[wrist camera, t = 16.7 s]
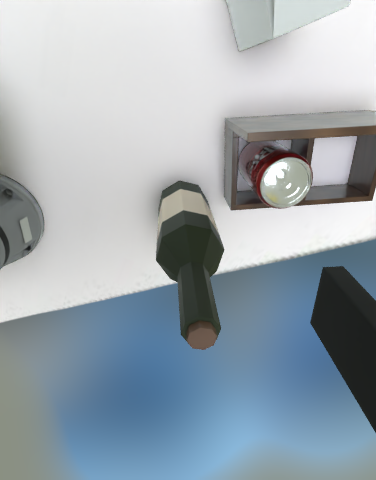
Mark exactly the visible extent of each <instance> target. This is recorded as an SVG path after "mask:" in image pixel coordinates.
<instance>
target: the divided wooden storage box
mask: <svg viewBox="0 0 376 480" xmlns="http://www.w3.org/2000/svg"><path fill="white" fill-rule="evenodd" d="M343 136H358V138H357V143H356V147H355V152H354V157H353V161H352V166H351V171H350V175H349V180H348V184H344V185H329V186H314V187H310V190H309V191H308V193H307V195H306V196H305V197H304V198H303V199H302V200H301V201H300V202H298V203H297V204H295V205H293V206H301V205H315V204H330V203H344V202H359V201H372V199H373V195H374V192H375V188H376V111H370V110H362V111H345V112H327V113H309V114H292V115H274V116H257V117H239V118H225V169H224V197H225V199H226V201H227V203H228V205H229V207H230V209H231V210H242V209H257V208H271V207H269V206H268V205H266V204H264V203H263V202H262V201H261V199H260V198H259V197H258V196H257V194H256V193H255V192H254V191H239V192H237V168H238V137H242V138H243V139H244V140H246V141H247V142H259V141H276V140H292V145H291V150H292V151H293V152H295V153H297V154H299V155H301V156H302V157H304V158H305V159H306V160H307V161H308V162H309V164H310V166H311V159H312V152H313V146H314V139H315V138H326V137H343Z"/></svg>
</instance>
